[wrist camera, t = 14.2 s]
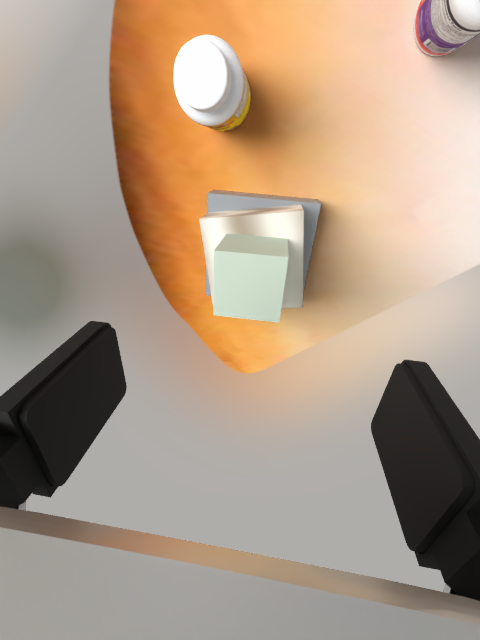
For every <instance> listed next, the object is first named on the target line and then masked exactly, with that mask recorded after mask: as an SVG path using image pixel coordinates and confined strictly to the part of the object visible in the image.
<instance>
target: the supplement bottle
mask: <svg viewBox="0 0 480 640" xmlns="http://www.w3.org/2000/svg"><path fill="white" fill-rule="evenodd" d="M174 88H175V93H176V96H177V99H178V102H179V104H180V106H181V107H182V109H183V110H184V112H185V113H186V114H187V115H188V116H189V117H190V118H191V119H192V120H194V121H195V122H197V123H199V124H201V125H204V126H206V127H209V128H211V129H214V130H217V131H221V132H226V131H231V130H233V129H235V128H237V127H238V126H240V125H241V124H242V122H243V121H244V120H245V118H246V116H247V114H248V112H249V109H250V104H251V91H250V86H249V83H248V80H247V78H246V75H245V72H244V70H243V68H242V66H241V63H240V61H239V59H238V57H237V55H236V53H235V52H234V50H233V49H232V47H231V46H230V45H229V44H228V43H227V42H225V41H224V40H223V39H221V38H219V37H216V36H213V35H201V36H198V37H195V38H194V39H192V40H190V41H189V42H187V43H186V44H185V45H184V46H183V47H182V48H181V49H180V51H179V53H178V55H177V57H176V60H175V65H174Z"/></svg>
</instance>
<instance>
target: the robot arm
mask: <svg viewBox="0 0 480 640" xmlns="http://www.w3.org/2000/svg"><path fill="white" fill-rule="evenodd" d="M125 392H126V382H125V376H124V371H123V366H122V361H121V356H120V351H119V346H118V341H117V336H116V331H115V329H114V328H112V327H111V325H110V324H109V323H104V322H96V321H90V322H89V323H87V324H86V325H85V326H84V327H83V328H81V329H80V330H79V331H78V332H77V333H75V334H74V335H73V336H72V337H71V338H69V339H68V340H67V341H66V342H65V343H63V344H62V345H61V346H60V347H59V348H57V349H56V350H55V351H54V352H53V353H52V354H50V355H49V356H48V357H47V358H46V359H44V360H43V361H42V362H41V363H40V364H38V365H37V366H36V367H35V368H34V369H32V370H31V371H30V372H29V373H28V374H27V375H25V376H24V377H23V378H22V379H21V380H19V381H18V382H17V383H16V384H15V385H13V386H12V387H11V388H10V389H9V390H8V391H6V392H5V393H4V394H3V395H2V396H0V640H480V439H479V438H478V436H477V435H476V434H475V432H474V431H473V429H472V428H471V426H470V425H469V424H468V422H467V420H466V419H465V418H464V416H463V415H462V413H461V412H460V410H459V409H458V408H457V406H456V405H455V403H454V402H453V400H452V399H451V397H450V396H449V394H448V393H447V391H446V390H445V388H444V387H443V386H442V384H441V383H440V381H439V380H438V378H437V377H436V375H435V374H434V372H433V371H432V370H431V368H430V367H429V365H428V364H427V363H425V362H420V361H412V360H404V361H403V362H402V363H401V364H397V365H396V366H395V368H394V370H393V373H392V375H391V377H390V380H389V382H388V384H387V387H386V389H385V391H384V394H383V396H382V399H381V401H380V403H379V406H378V408H377V410H376V413H375V415H374V417H373V420H372V423H371V431H372V435H373V438H374V441H375V445H376V448H377V451H378V454H379V457H380V460H381V464H382V467H383V470H384V473H385V476H386V479H387V483H388V486H389V489H390V492H391V496H392V499H393V502H394V505H395V508H396V511H397V515H398V518H399V521H400V524H401V528H402V531H403V534H404V537H405V540H406V543H407V545H408V547H409V549H410V550H412V551H415V554H416V557H417V561H418V564H419V566H422V567H427V568H432V569H438V570H441V573H442V576H443V579H444V582H445V583H446V585H445V588H444V590H443V592H440V591H435V590H430V589H426V588H421V587H417V586H412V585H407V584H403V583H398V582H393V581H389V580H385V579H380V578H374V577H369V576H364V575H359V574H354V573H349V572H344V571H339V570H334V569H329V568H324V567H319V566H314V565H308V564H304V563H299V562H294V561H289V560H284V559H279V558H274V557H269V556H263V555H258V554H253V553H248V552H243V551H238V550H232V549H227V548H222V547H217V546H212V545H206V544H201V543H196V542H191V541H186V540H180V539H175V538H170V537H165V536H159V535H154V534H149V533H144V532H138V531H133V530H127V529H123V528H117V527H111V526H107V525H101V524H96V523H90V522H85V521H80V520H75V519H69V518H64V517H58V516H53V515H48V514H42V513H37V512H31V511H26V500H27V498H28V497H29V496H30V494H31V493H33V494H36V495H41V496H47V497H51V496H52V494H53V493H54V492H55V490H56V489H57V487H58V486H62V485H63V484H64V483H65V482H66V480H67V479H68V478H69V477H70V475H71V474H72V472H73V471H74V469H75V468H76V466H77V465H78V463H79V462H80V460H81V459H82V457H83V456H84V454H85V453H86V451H87V450H88V449H89V447H90V446H91V444H92V443H93V441H94V439H95V438H96V436H97V435H98V434H99V432H100V430H101V429H102V428H103V426H104V425H105V423H106V422H107V420H108V419H109V417H110V416H111V414H112V413H113V411H114V410H115V409H116V407H117V405H118V404H119V403H120V401H121V400H122V398H123V396H124V395H125Z"/></svg>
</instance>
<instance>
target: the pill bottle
mask: <svg viewBox="0 0 480 640" xmlns="http://www.w3.org/2000/svg"><path fill="white" fill-rule="evenodd" d="M413 32H414V38H415V41H416V44H417V45H418V47H419V48H420V50H421V51H423V52H424V53H425V54H427V55H430V56H443V55H446V54H449V53H451V52H453V51H455V50H457V49H458V48H460V47H462V46H463V45H465V44H466V43H468V42H469V41H471V40H473V39H474V38H476V37H478V36H479V35H480V0H420V2H419V4H418V7H417V10H416V13H415V17H414V24H413Z"/></svg>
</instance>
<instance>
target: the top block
mask: <svg viewBox="0 0 480 640" xmlns="http://www.w3.org/2000/svg"><path fill="white" fill-rule="evenodd" d="M199 221H200V227H201V233H202V240H203V246H204V252H205V259H206V265H207V271H208V278H209V284H210V290H211V297H212V303H213V309H214V250H215V248H216V247H217V246H218V244H219V243H220V242H221V240H222V239H223V238H224V236H225V235H226V234H227V233H228V234H240V235H251V236H263V237H275V238H287V239H288V255H289V258H288V265H287V272H286V279H285V286H284V293H283V300H282V307H281V308H303V236H304V210H303V208H302V205H292V206H280V207H268V208H256V209H244V210H232V211H220V212H208V213H207V214H206V215H204V216H203V217H202V218H200V219H199Z"/></svg>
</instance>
